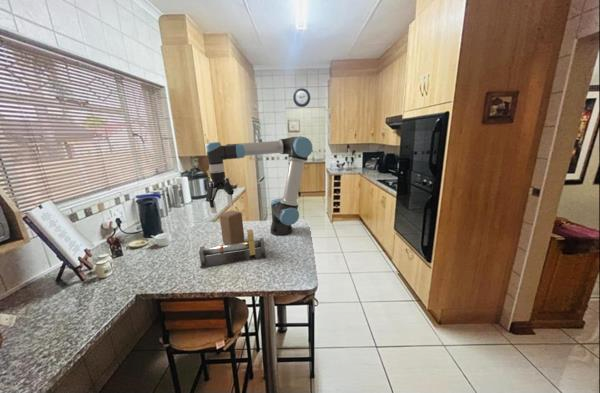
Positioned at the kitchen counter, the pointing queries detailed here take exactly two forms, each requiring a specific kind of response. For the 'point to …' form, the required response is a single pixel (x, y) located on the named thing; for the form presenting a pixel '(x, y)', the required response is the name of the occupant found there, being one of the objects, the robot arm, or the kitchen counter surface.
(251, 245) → the collar
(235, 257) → the pipe rig
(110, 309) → the kitchen counter surface
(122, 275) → the kitchen counter surface
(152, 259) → the kitchen counter surface
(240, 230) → the wooden block
